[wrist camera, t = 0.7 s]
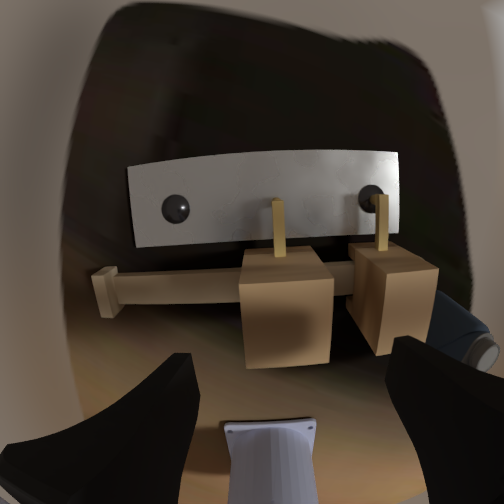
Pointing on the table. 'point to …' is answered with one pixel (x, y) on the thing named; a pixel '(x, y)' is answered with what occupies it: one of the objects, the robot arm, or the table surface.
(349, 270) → the rail
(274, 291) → the brown block with peg
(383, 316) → the fixed leg
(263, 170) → the bolt plate
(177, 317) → the table surface
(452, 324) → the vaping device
